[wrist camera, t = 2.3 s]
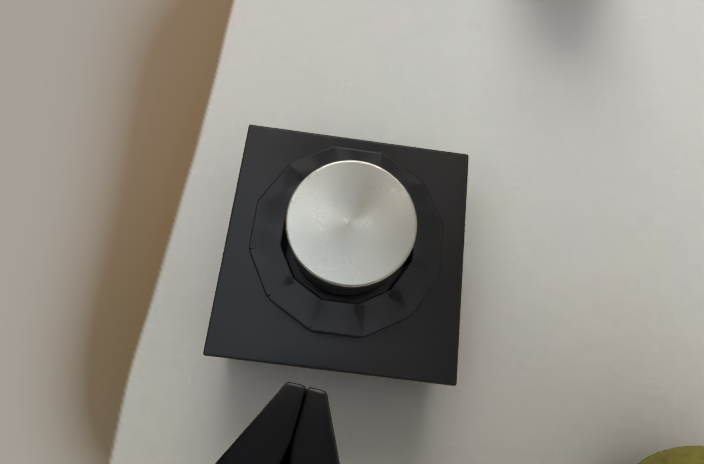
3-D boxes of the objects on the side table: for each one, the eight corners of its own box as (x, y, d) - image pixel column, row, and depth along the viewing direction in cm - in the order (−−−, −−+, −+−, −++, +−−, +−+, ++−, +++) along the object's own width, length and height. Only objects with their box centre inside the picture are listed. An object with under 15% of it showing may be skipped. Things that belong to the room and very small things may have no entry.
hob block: (431, 378, 21) (472, 391, 15) (226, 352, 21) (188, 356, 15) (444, 186, 23) (483, 135, 18) (262, 162, 23) (241, 101, 17)
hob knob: (398, 302, 16) (412, 295, 14) (282, 287, 16) (274, 277, 14) (408, 193, 17) (422, 168, 15) (300, 178, 17) (296, 151, 15)
